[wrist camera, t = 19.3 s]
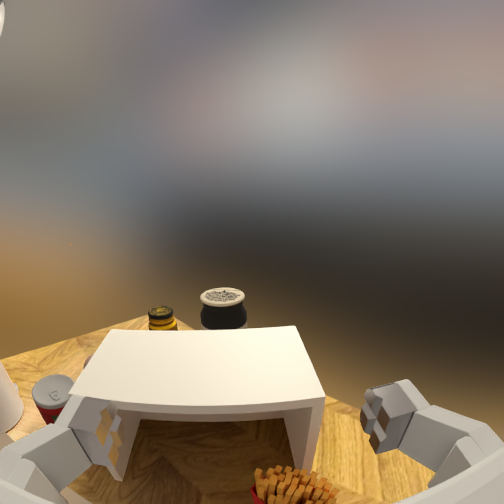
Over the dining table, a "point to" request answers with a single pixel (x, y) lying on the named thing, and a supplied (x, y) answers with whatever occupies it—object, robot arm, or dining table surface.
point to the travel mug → (223, 309)
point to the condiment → (162, 319)
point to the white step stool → (208, 382)
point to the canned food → (52, 396)
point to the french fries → (291, 487)
